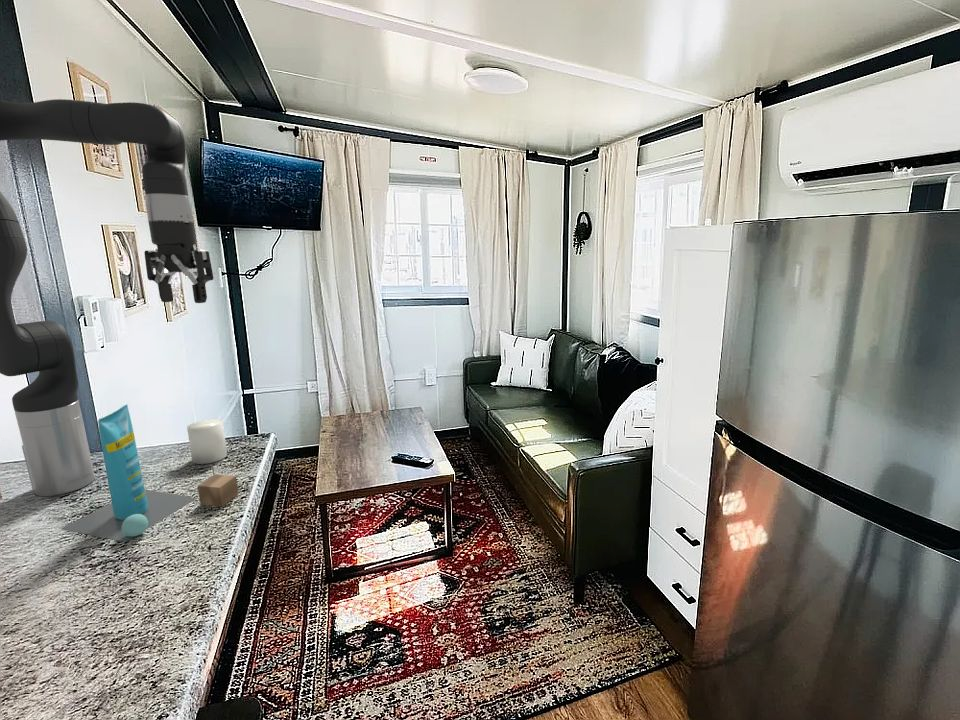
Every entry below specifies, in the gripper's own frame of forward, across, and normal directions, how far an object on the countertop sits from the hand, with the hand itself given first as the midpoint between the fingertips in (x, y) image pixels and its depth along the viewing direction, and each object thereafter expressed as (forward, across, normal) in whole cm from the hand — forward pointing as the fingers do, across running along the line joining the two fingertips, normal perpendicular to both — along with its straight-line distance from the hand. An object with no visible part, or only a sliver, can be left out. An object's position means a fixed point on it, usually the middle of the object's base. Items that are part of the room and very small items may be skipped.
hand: (184, 302), depth 95 cm
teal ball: (+36, +11, -25) cm, 45 cm away
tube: (+36, +4, -20) cm, 41 cm away
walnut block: (+34, +13, -13) cm, 38 cm away
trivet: (+36, +4, -20) cm, 41 cm away
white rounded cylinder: (+36, -2, +3) cm, 36 cm away
